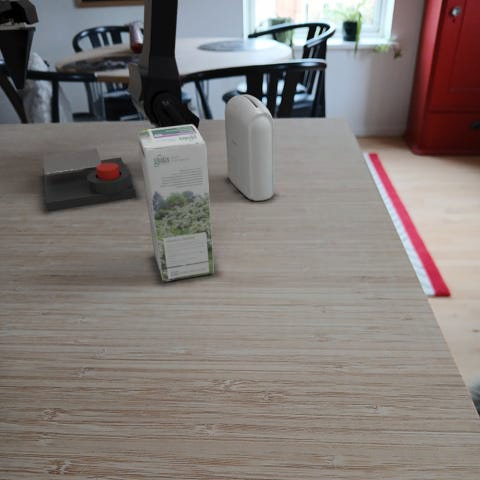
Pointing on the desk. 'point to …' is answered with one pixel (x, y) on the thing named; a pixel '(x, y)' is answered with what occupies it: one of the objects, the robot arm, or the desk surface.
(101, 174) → the button
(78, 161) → the weighing pan
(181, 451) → the desk surface
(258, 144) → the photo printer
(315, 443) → the desk surface
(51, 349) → the desk surface
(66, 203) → the dark grey flat piece
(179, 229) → the syrup box
